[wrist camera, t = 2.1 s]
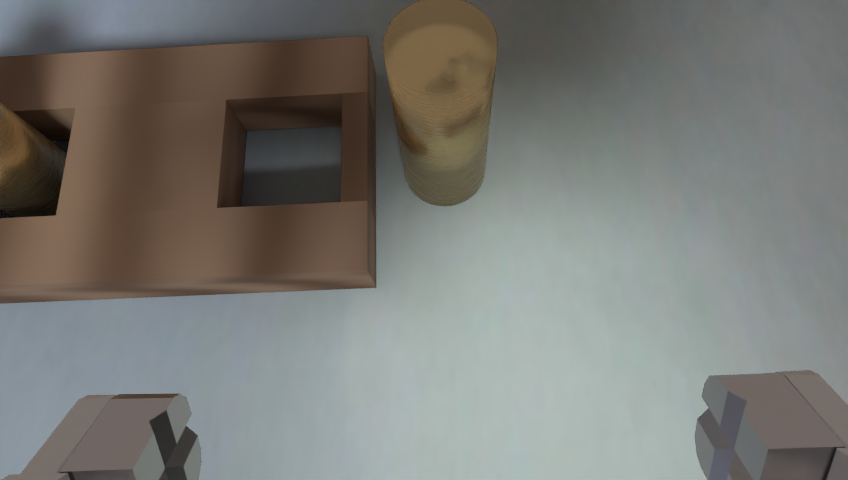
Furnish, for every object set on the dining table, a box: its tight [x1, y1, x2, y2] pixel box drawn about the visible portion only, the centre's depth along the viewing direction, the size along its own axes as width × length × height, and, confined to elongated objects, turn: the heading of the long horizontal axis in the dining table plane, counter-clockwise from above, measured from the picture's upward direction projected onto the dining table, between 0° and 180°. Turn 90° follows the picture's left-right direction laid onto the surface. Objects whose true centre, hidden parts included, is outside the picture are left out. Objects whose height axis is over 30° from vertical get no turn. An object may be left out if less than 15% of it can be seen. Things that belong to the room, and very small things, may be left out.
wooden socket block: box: [0, 36, 376, 303], centre depth 29 cm, size 21×12×3 cm, turn 92°
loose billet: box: [383, 0, 498, 206], centre depth 26 cm, size 4×4×10 cm
